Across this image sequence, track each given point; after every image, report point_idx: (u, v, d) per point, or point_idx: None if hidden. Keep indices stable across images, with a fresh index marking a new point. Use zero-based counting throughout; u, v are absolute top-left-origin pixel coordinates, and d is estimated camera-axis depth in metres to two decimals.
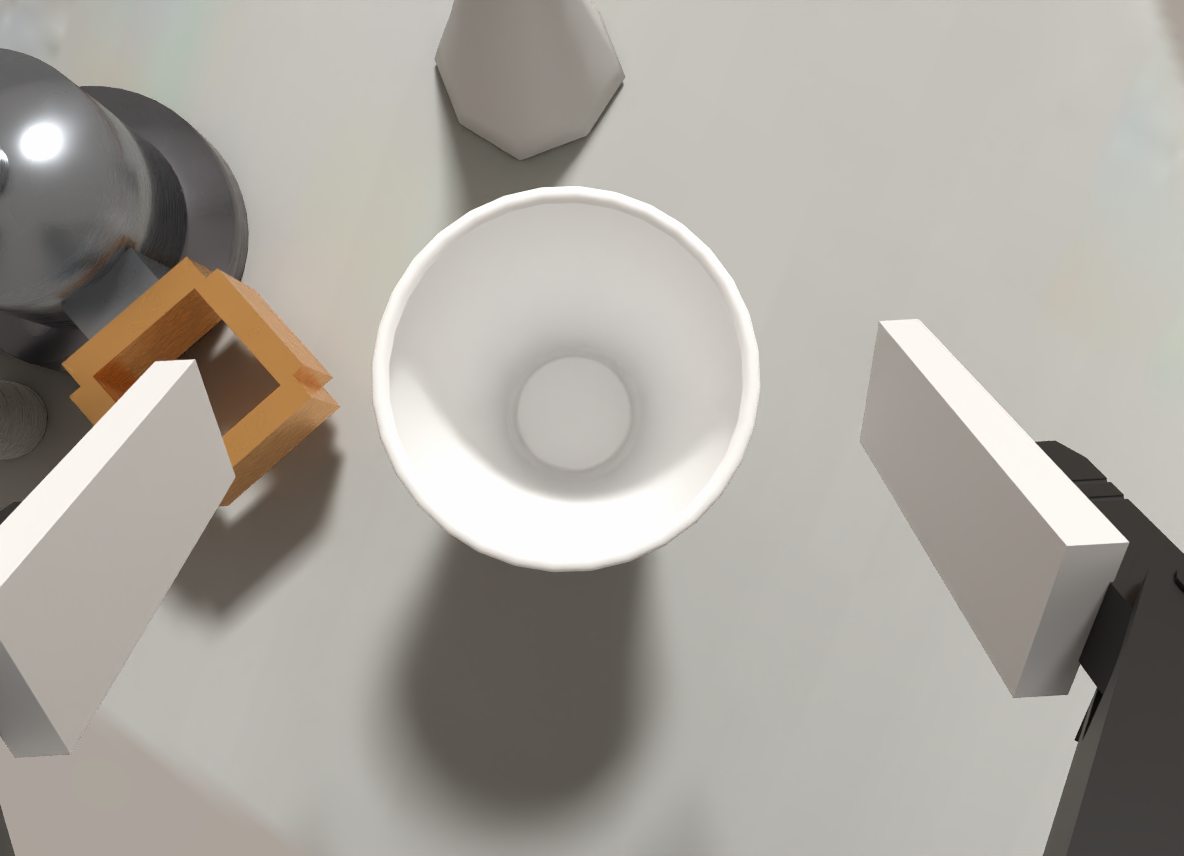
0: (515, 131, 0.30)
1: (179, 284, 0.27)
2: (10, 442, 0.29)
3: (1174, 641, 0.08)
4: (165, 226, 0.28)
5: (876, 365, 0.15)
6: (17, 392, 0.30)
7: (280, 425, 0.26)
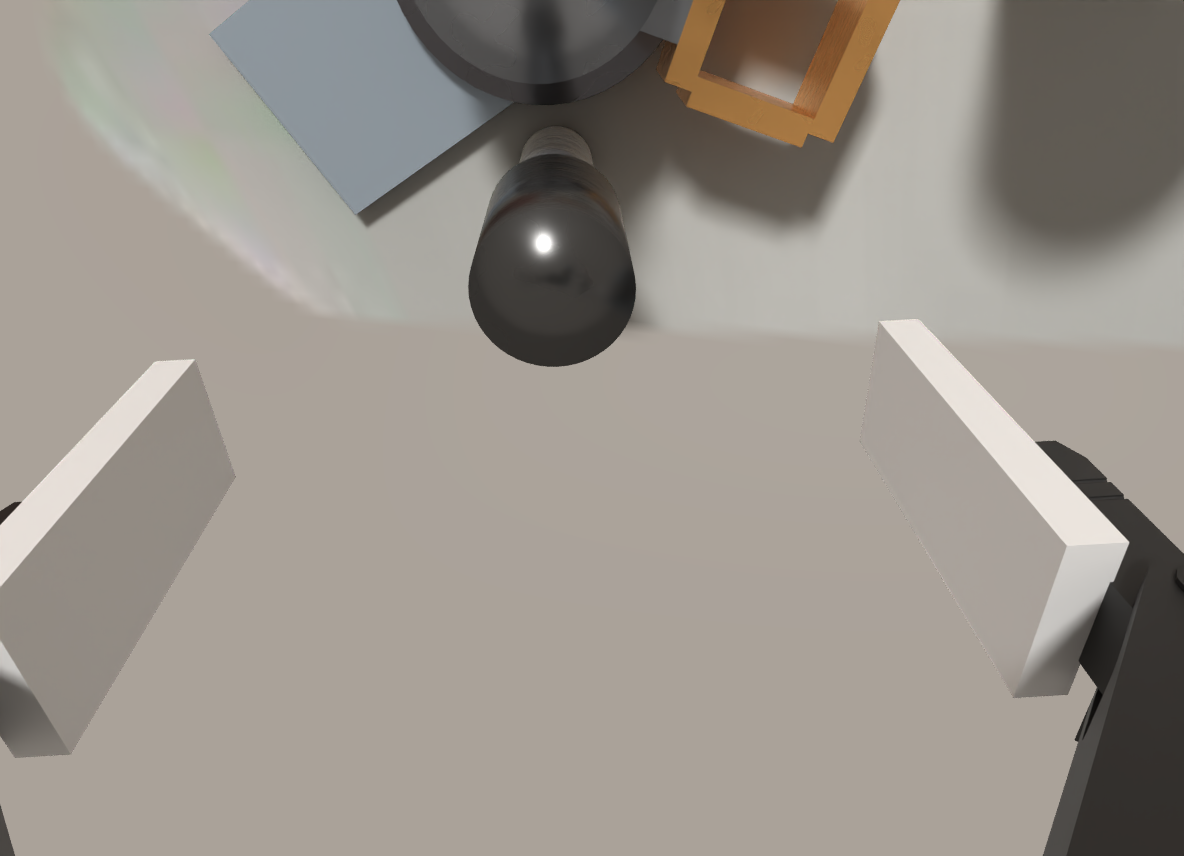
0: None
1: None
2: None
3: (1174, 641, 0.08)
4: None
5: (876, 365, 0.15)
6: (568, 134, 0.31)
7: (889, 21, 0.26)
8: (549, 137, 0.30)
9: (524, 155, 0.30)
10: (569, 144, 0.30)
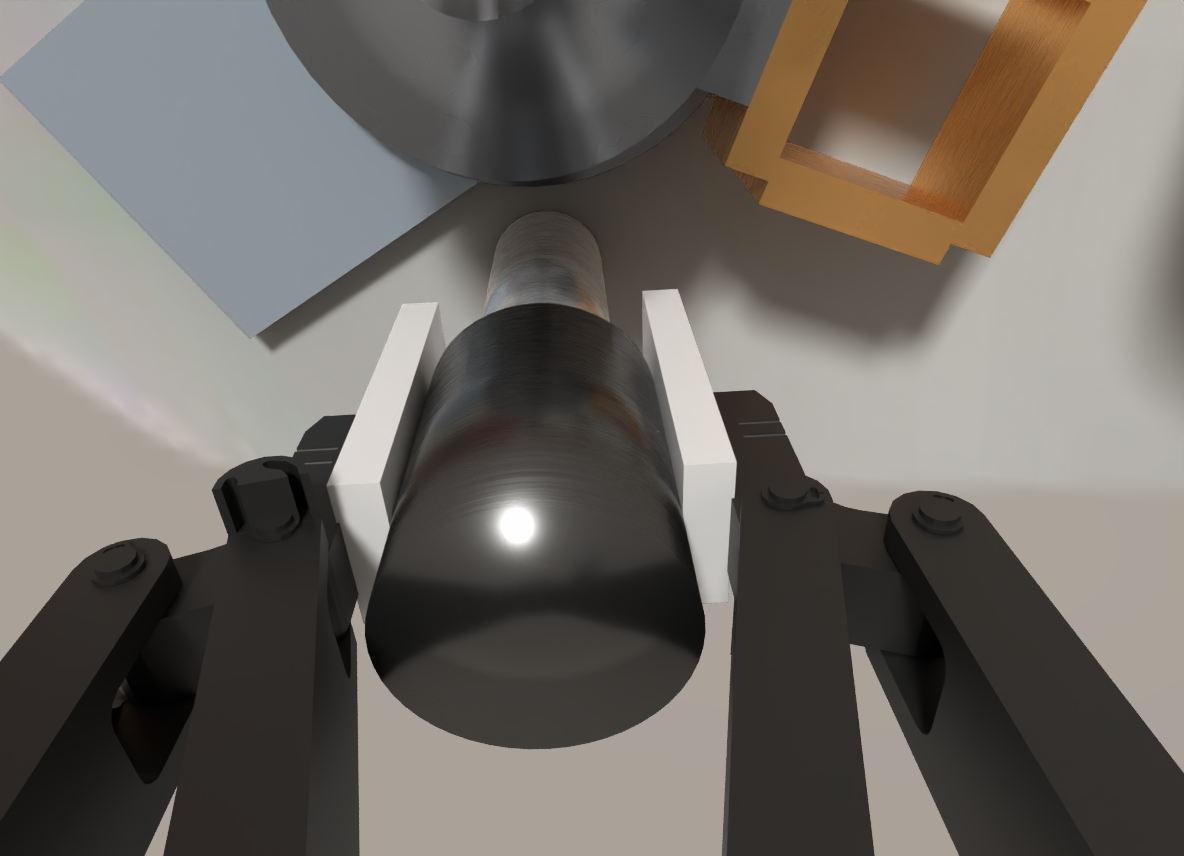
0: None
1: None
2: None
3: (771, 550, 0.10)
4: None
5: (643, 330, 0.17)
6: (566, 228, 0.20)
7: (1103, 68, 0.16)
8: (536, 236, 0.20)
9: (497, 264, 0.20)
10: (567, 250, 0.19)
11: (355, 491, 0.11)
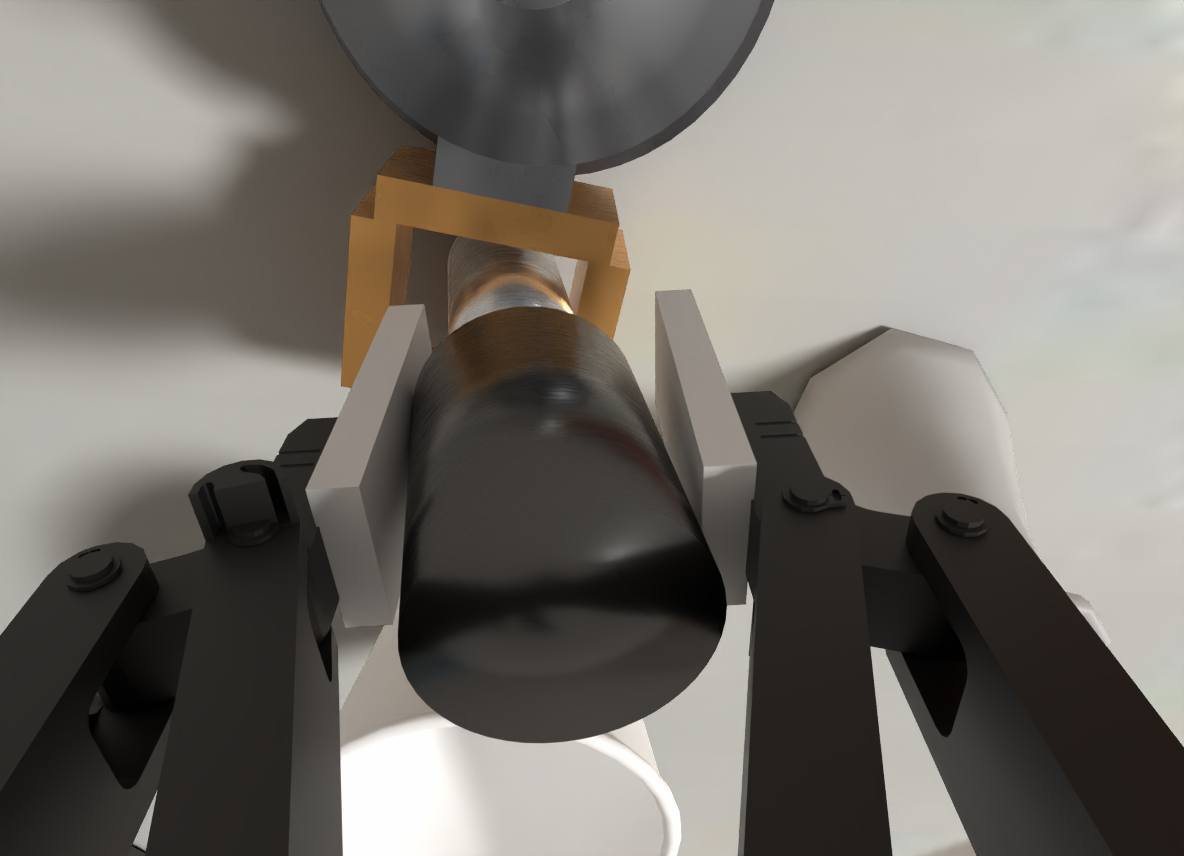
0: None
1: (579, 240, 0.18)
2: None
3: (791, 552, 0.10)
4: None
5: (656, 331, 0.17)
6: None
7: None
8: None
9: (460, 267, 0.20)
10: (532, 255, 0.19)
11: (334, 495, 0.11)
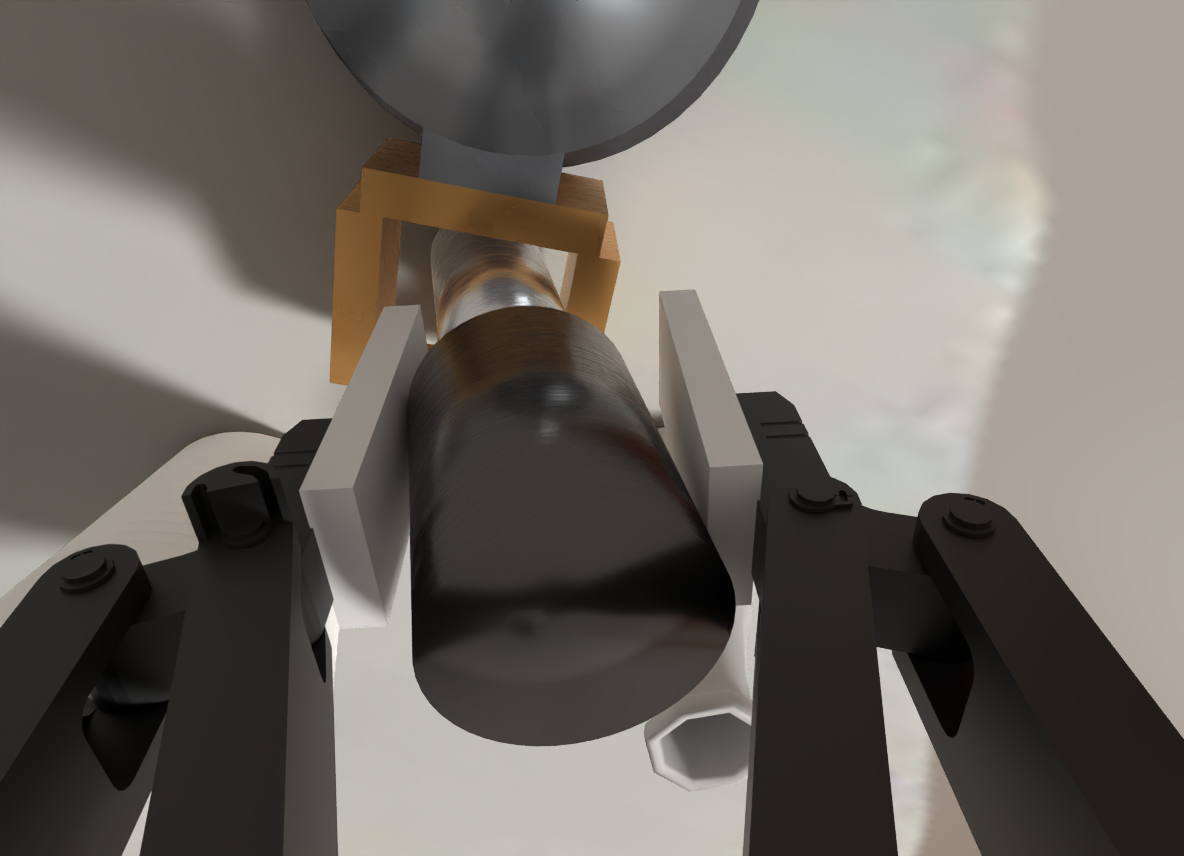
0: None
1: (568, 232, 0.18)
2: None
3: (798, 552, 0.10)
4: None
5: (660, 331, 0.17)
6: None
7: None
8: None
9: (446, 260, 0.19)
10: (519, 248, 0.19)
11: (328, 496, 0.11)
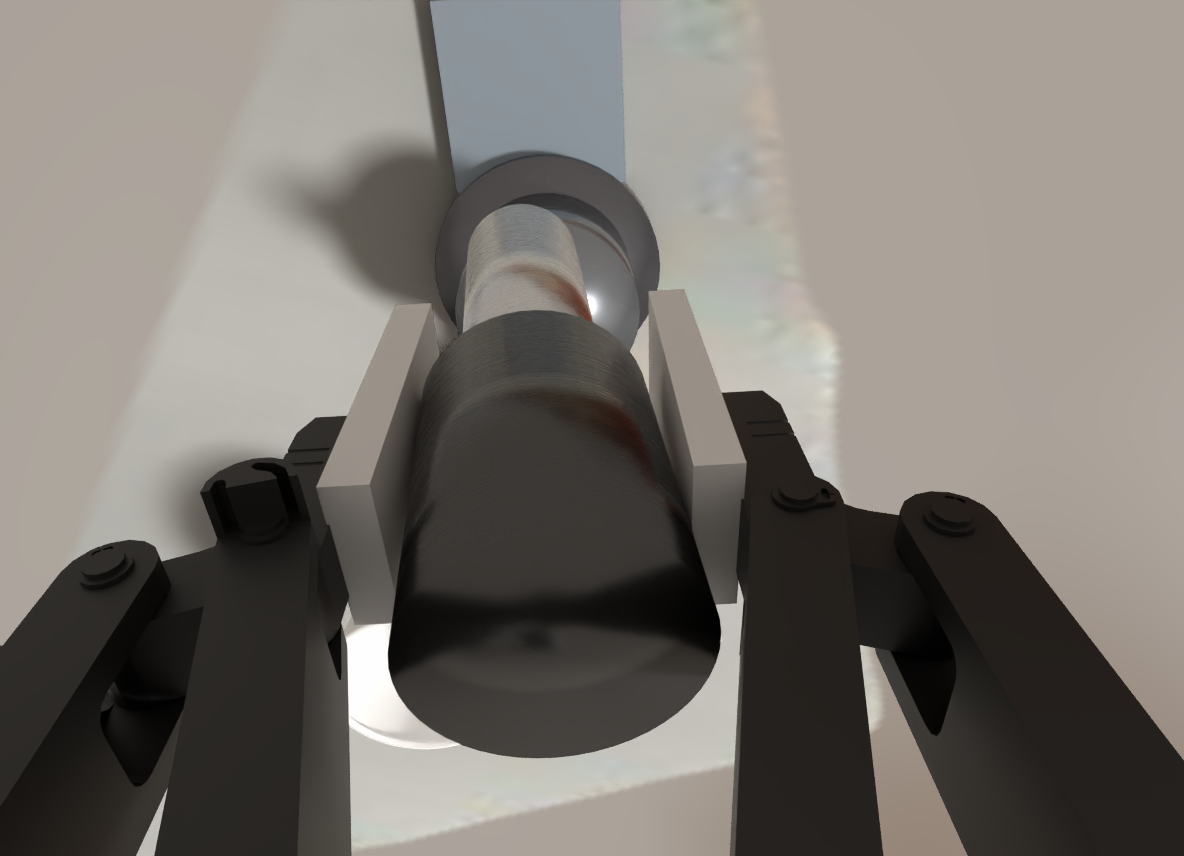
0: None
1: None
2: None
3: (781, 551, 0.10)
4: None
5: (649, 331, 0.17)
6: (545, 223, 0.20)
7: None
8: (517, 231, 0.20)
9: (478, 258, 0.19)
10: (550, 248, 0.19)
11: (345, 493, 0.11)
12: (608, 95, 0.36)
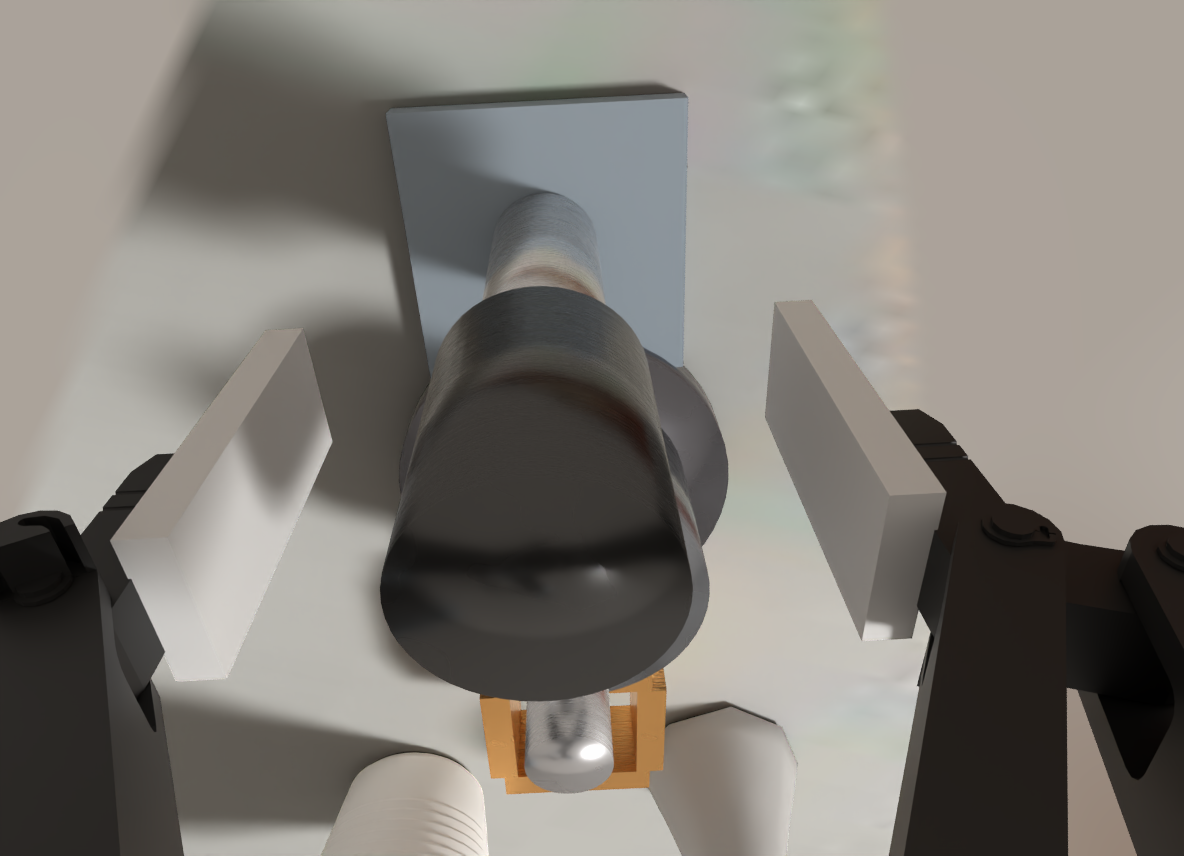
0: (649, 785, 0.35)
1: None
2: None
3: (986, 584, 0.09)
4: None
5: (773, 343, 0.16)
6: (566, 211, 0.21)
7: (613, 787, 0.30)
8: (538, 217, 0.20)
9: (499, 242, 0.20)
10: (568, 234, 0.20)
11: (143, 546, 0.10)
12: (662, 250, 0.23)
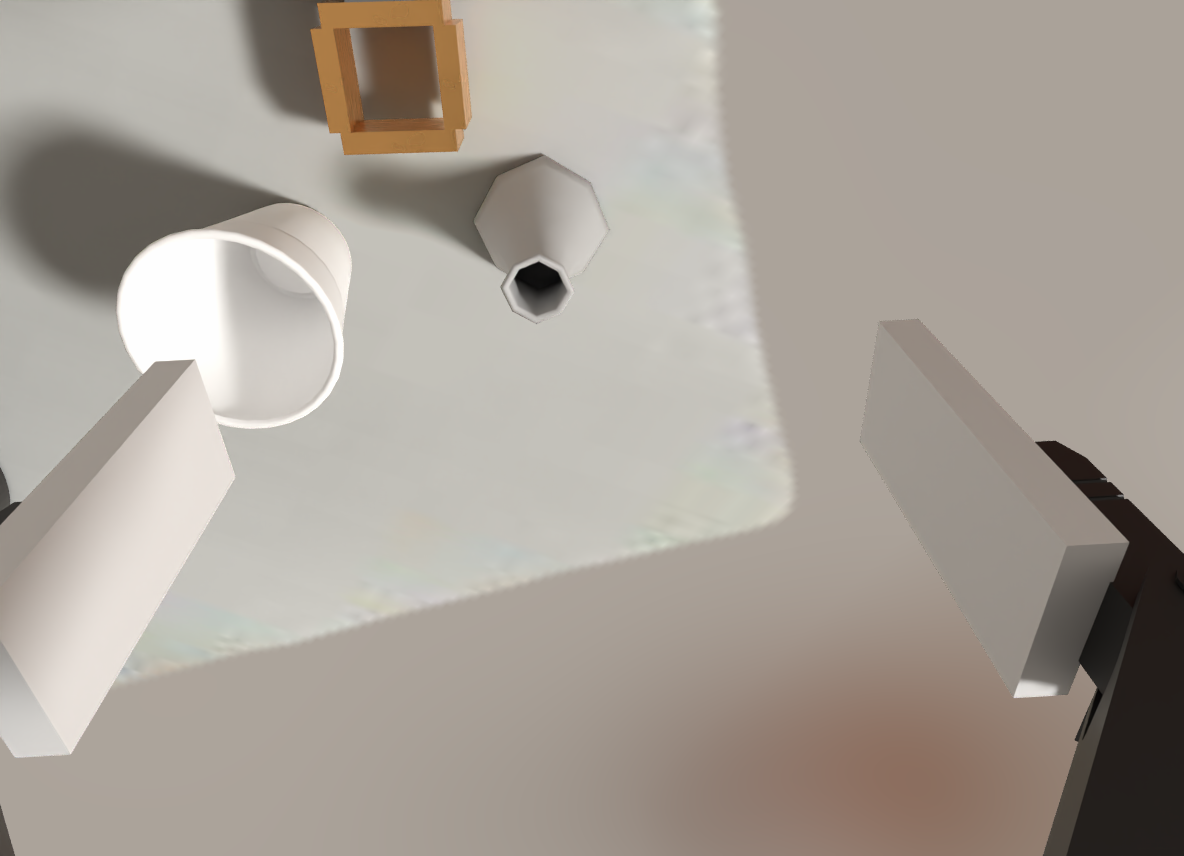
0: (481, 227, 0.43)
1: (425, 14, 0.35)
2: None
3: (1174, 641, 0.08)
4: None
5: (876, 365, 0.15)
6: None
7: (429, 151, 0.38)
8: None
9: None
10: None
11: None
12: None
